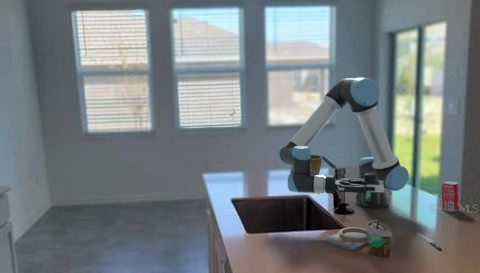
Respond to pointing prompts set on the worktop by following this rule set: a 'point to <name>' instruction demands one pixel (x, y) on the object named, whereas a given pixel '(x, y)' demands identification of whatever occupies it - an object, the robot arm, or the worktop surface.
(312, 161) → the plant pot
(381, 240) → the food container
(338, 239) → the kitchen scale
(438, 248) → the chef's knife
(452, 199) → the soda can
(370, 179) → the supplement bottle
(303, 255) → the worktop surface
